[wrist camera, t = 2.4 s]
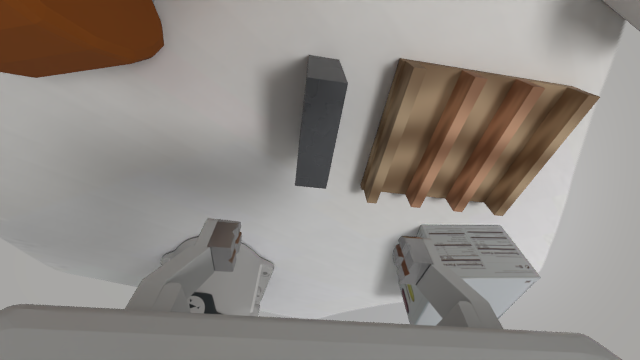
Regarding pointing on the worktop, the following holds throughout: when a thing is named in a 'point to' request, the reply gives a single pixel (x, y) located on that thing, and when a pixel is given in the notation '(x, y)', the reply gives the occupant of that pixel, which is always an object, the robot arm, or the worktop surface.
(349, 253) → the worktop surface
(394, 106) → the rack
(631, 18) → the container
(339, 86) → the block
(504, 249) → the supplement box
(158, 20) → the orange rounded block
